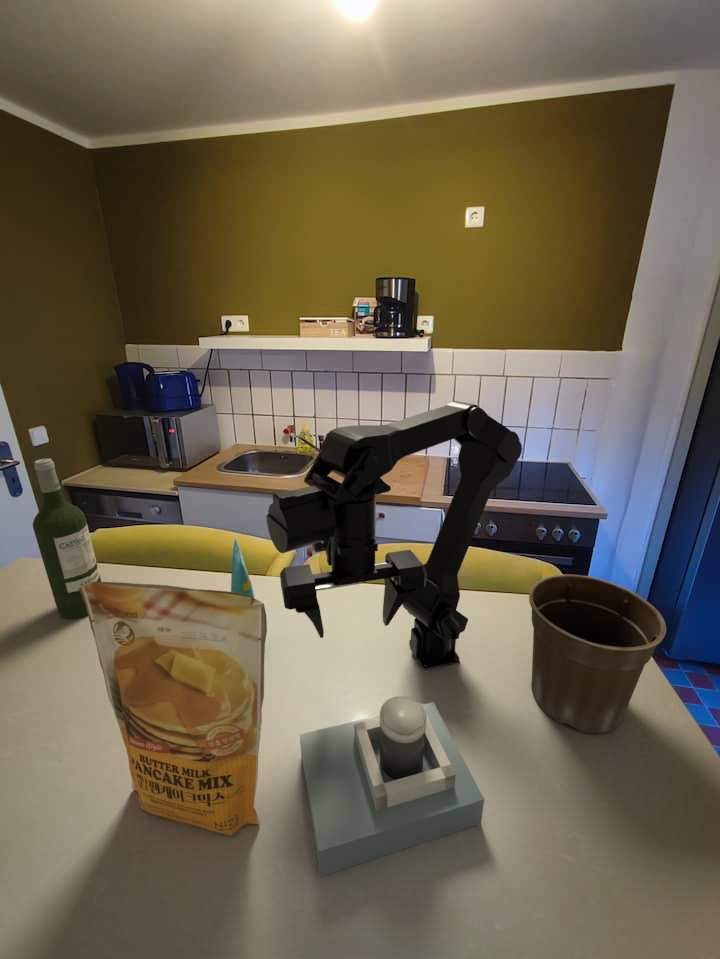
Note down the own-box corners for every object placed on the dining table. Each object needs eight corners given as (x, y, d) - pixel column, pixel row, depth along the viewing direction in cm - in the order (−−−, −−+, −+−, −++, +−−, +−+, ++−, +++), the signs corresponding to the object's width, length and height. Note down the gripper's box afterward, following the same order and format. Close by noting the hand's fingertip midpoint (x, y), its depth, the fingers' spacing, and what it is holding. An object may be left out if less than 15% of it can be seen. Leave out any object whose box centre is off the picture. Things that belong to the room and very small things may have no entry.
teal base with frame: (431, 724, 59) (434, 690, 57) (480, 823, 47) (486, 786, 45) (301, 757, 54) (299, 722, 52) (319, 877, 43) (317, 838, 41)
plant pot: (493, 674, 67) (504, 586, 62) (570, 646, 73) (587, 564, 67) (577, 767, 53) (602, 665, 48) (665, 724, 59) (696, 628, 53)
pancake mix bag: (148, 752, 55) (103, 564, 46) (286, 788, 51) (268, 588, 41) (108, 806, 49) (45, 602, 39) (261, 852, 45) (232, 634, 35)
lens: (413, 734, 53) (415, 691, 51) (431, 775, 48) (434, 729, 46) (373, 745, 52) (373, 701, 49) (387, 788, 47) (388, 741, 45)
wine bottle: (90, 619, 80) (49, 468, 70) (48, 619, 80) (2, 468, 70) (113, 594, 87) (80, 454, 77) (75, 594, 88) (37, 454, 77)
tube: (267, 655, 71) (258, 554, 65) (237, 665, 69) (225, 562, 62) (255, 628, 77) (246, 534, 71) (228, 637, 75) (216, 540, 69)
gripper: (400, 497, 64) (397, 586, 69) (272, 511, 59) (280, 606, 64) (431, 530, 53) (425, 631, 59) (280, 550, 49) (289, 658, 54)
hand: (353, 629), depth 59 cm, fingers open, 9 cm apart
